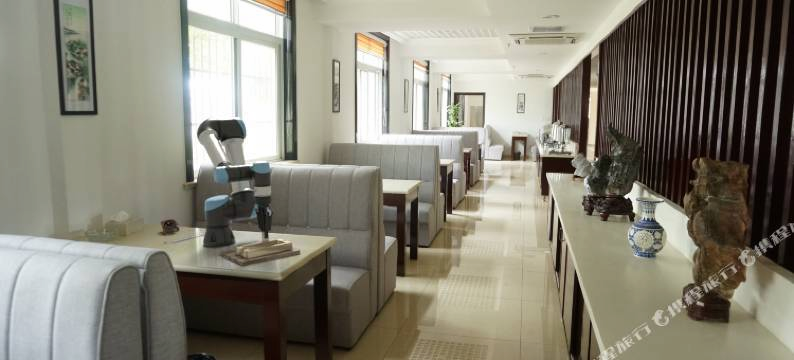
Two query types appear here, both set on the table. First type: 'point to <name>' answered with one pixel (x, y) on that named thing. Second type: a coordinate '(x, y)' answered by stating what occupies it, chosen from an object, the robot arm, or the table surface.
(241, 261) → the display board
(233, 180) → the robot arm
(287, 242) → the wooden tray
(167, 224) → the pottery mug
